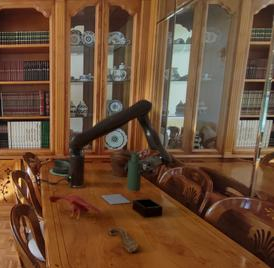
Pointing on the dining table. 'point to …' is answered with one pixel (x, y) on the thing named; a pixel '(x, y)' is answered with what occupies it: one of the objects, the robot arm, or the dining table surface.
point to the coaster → (115, 199)
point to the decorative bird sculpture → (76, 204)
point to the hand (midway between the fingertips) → (132, 171)
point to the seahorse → (125, 239)
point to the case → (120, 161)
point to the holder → (147, 207)
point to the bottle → (134, 173)
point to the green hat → (60, 167)
